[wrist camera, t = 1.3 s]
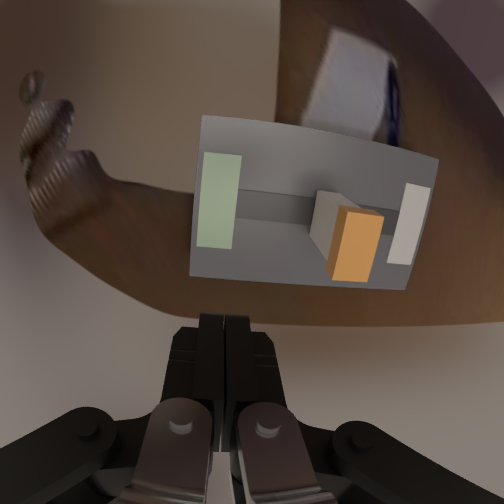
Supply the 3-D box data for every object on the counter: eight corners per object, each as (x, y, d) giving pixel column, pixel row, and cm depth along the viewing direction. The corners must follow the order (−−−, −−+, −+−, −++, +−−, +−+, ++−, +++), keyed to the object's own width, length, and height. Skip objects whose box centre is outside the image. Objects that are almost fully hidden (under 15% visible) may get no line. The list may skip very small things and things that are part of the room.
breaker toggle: (343, 190, 26) (384, 217, 19) (333, 240, 28) (367, 282, 21) (314, 186, 26) (347, 211, 19) (305, 238, 27) (332, 280, 20)
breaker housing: (413, 152, 30) (440, 159, 26) (385, 269, 36) (405, 291, 31) (206, 116, 28) (201, 114, 23) (194, 254, 33) (189, 276, 28)
